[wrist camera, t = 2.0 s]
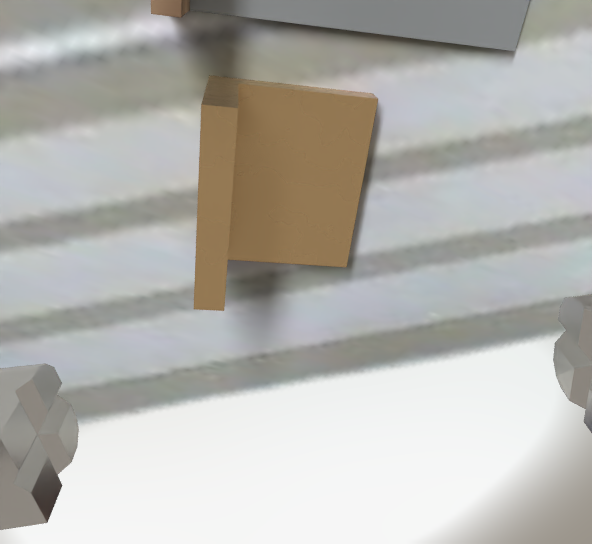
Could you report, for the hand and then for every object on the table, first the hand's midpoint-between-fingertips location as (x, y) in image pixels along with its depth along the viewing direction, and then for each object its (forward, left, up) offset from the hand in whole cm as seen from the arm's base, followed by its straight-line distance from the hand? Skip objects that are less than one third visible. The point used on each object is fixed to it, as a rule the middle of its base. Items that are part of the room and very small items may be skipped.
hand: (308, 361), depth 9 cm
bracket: (+2, -5, -23) cm, 24 cm away
